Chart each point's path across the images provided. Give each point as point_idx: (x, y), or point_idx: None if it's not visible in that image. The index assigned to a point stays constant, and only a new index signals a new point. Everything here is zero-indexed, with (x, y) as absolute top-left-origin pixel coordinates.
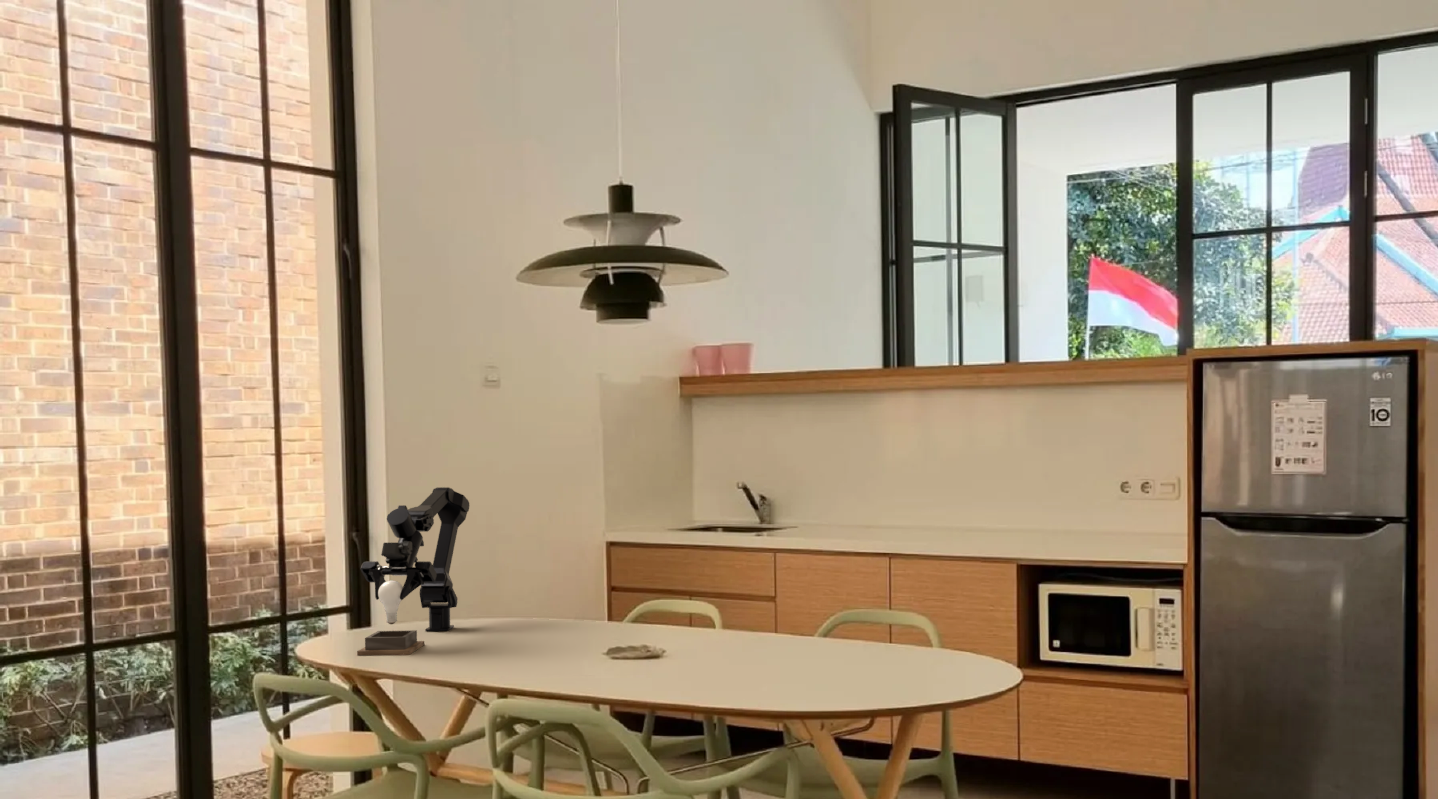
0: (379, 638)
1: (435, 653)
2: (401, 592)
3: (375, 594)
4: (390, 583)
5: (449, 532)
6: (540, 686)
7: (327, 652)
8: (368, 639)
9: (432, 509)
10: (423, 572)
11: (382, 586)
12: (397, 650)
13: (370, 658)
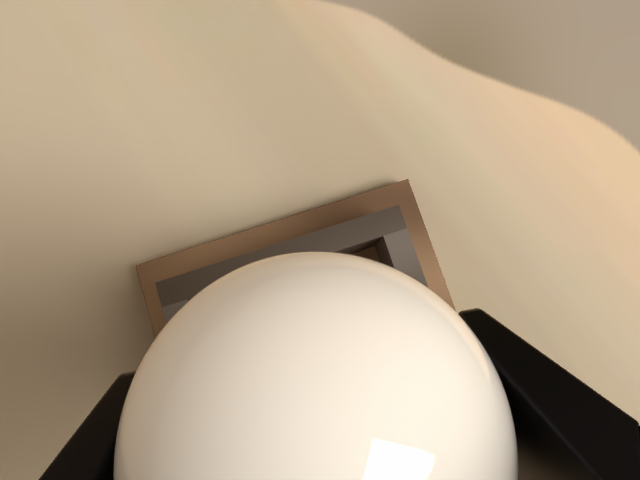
0: (311, 233)
1: (21, 336)
2: (113, 422)
3: (503, 328)
4: (239, 364)
5: None
6: None
7: (616, 217)
8: (376, 212)
9: None
10: None
11: (373, 289)
12: (202, 252)
13: (287, 138)
